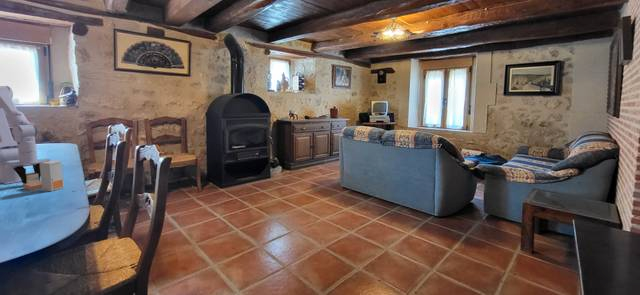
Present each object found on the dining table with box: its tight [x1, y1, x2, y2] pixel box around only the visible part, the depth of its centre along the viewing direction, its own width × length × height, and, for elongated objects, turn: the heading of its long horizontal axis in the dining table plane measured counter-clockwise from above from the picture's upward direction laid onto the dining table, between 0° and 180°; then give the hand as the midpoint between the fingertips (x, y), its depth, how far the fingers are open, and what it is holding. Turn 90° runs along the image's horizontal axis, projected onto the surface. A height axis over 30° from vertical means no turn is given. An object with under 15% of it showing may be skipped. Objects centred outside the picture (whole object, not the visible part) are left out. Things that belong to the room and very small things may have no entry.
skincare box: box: [40, 160, 65, 192], centre depth 127 cm, size 6×4×12 cm
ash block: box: [22, 172, 39, 185], centre depth 134 cm, size 4×4×5 cm
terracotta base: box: [22, 180, 42, 192], centre depth 130 cm, size 7×7×2 cm
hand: (31, 181), depth 134 cm, fingers closed on ash block, 4 cm apart
